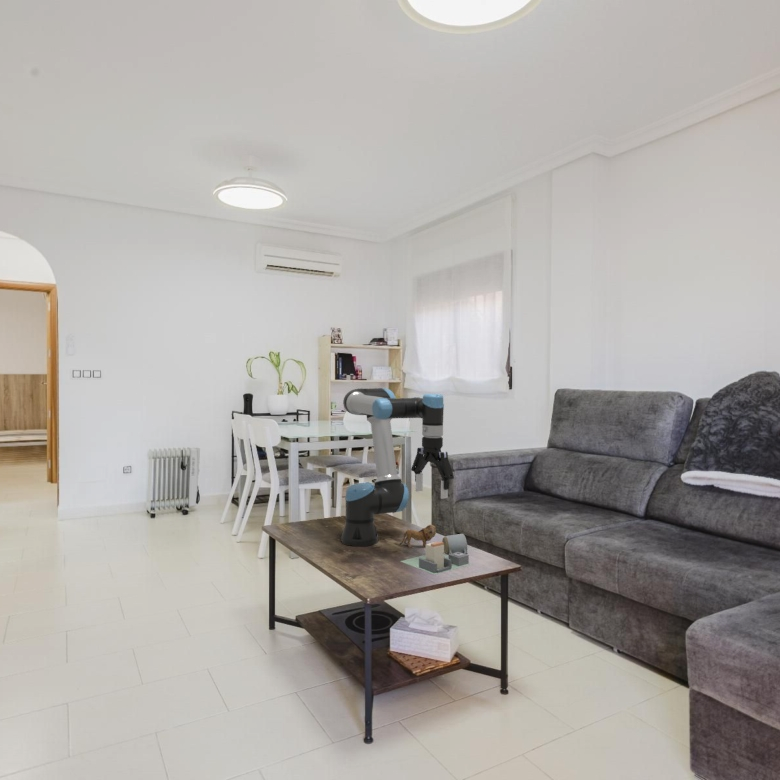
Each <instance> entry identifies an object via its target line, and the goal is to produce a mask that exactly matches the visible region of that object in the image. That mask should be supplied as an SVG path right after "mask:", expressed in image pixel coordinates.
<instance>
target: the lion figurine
mask: <svg viewBox="0 0 780 780" xmlns="http://www.w3.org/2000/svg"><path fill="white" fill-rule="evenodd" d="M436 534H437V530H436V526H435V525H433V524H428V525H427V526H426V527H424V528H422V529H420V530H414V529H407V530H405V532H404V534H403V537H402V541H401V542H400V543H399V546H402V545H403V544H404V546H407V547H408V548H409V547H410V549H411V548H412V547H413V545H411V544H410V543H411V540H412V539H414V541H419V542H420V541H421V542H422V546H423V548H424V549H426V544H427V542H428V541H431V540H432V539H433V538H434V537H436Z"/></svg>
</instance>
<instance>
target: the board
mask: <svg viewBox="0 0 780 780" xmlns="http://www.w3.org/2000/svg"><path fill="white" fill-rule="evenodd" d="M444 557H445V558H448V559H449V555H448V554H444ZM419 558H422V559H425V560H426V554H423V555H420V556H416V557H411V558H408V559H404V560H400V561H399V562H400V563H403V564H406V565H408V566H410V567H413V568H416V569H419V570H421V571H424V572H426V573H429V574H432V575H433V576H436V575H438V574H443V573H446V572H450V571H452V570H455V569H459V568H462V567H463V568H464V567H466V566H469V565H471V563H470V562H469V563H468V564H465V565H462V566H456V565H454V564H452V568H451V569H450V570H447V571H443V572H440V573H433V572H430V571H428V570H425V569H422V568H420V567H419Z"/></svg>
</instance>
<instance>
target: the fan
mask: <svg viewBox="0 0 780 780" xmlns="http://www.w3.org/2000/svg"><path fill="white" fill-rule="evenodd" d="M448 556H449V559H451V560H452V564H454V565H456V566H462V565H465V564H468V563H470V559H469V554H467V553H466V554H464V553H461V552H455V553H452V554H448Z"/></svg>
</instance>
